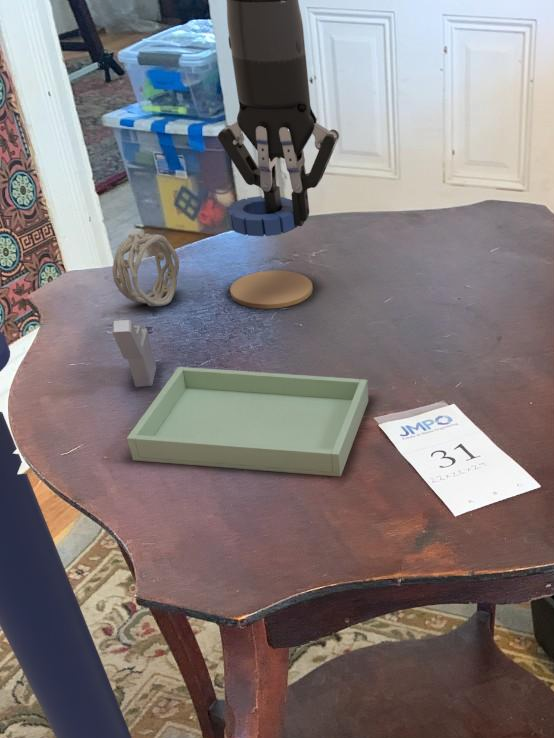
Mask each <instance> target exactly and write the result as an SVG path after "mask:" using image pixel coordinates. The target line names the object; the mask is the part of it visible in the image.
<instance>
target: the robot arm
mask: <svg viewBox="0 0 554 738" xmlns="http://www.w3.org/2000/svg"><path fill="white" fill-rule="evenodd" d="M300 8H301V7H300V3H299V0H226V23H227V30H228V45H229V46H228V47H229V49H230V51H231V58H232V66H233V72H234V79H235V86H236V93H237V100H238V104H239V106H238V107H239V109H238V113H237V116H236V121H235V122H234V123H232V124H230V125H229V124H228V125H226V126H225V127H223V128H222V129H221V130H220V131H219V132H218V134H217V139H218V141H219V143H220V144H221V146H222V147H223V149H224V150H225V152H226V154H227V155H228V156H229V158H230V159H231V161H232V163H233V164H234V166H235V167H236V169H237V171H238V173H239V174H240V176H241V177H242V179H243V181H244V182H245V184H247V185H249V186H253V185H254V186H257V187H259V188H260V189H261V191H262V192H263V197H264V199H265V207H266V214H272V213H275V212H278V211H280V210H281V209H282V204H281V197H282V196H281V188H280V186H278V184H277V181H278V175H277V174H278V173H277V162H278V158H280V159H283V160H284V162H285V166H286V170H287V172H288V176H289V180H290V185H291V189H292V192H291V195H290V196H291V200H292V204H293V213H294V222H295V226H297V227H302V226H303V225H304V224H305V222H306V221H307V220H308V218H309V215H310V205H309V204H310V203H309V194H308V193H309V192H308V189H311V188H312V189H313V188H314V189H315V188H316V187H317V186H318V184H319V183H320V182H321V180H322V178H323V176H324V174H325V172H326V169H327V167H328V165H329V162H330V160H331V158H332V155H333V153H334V150H335V148H336V146H337V143H338V141H339V139H340V134H339V132H338V130H336V129H334V128H333V129H330V130H329V129H327V128H326V127H324V126H323V125H322V124H320V123H318V122H317V118H316V115H315V113H314V111H313V109H312V107H311V95H310V86H309V76H308V75H309V74H308V65H307V64H308V63H307V53H306V44H305V43H306V42H305V32H304V24H303V18H302V11H301V9H300ZM244 135H245V136H244ZM311 136H313V137H314V146H315V149H316V150H318V151H317V154H316V157H315V159H314V162H313V164H312V166H311V169H310V172H308V173H307V171H306V166H305V165H306V163H305V162H306V159H305V153H304V149H305V147H306V146H307V144H308V142H309V140H310V139H311ZM245 137H246V139H248V141H249V142H250V143H251V145H252V146H253V147H254V149H255V150H256V151H257V163H256V161H255V160H254V158H253V157H252V155H251V153H250V151H249V150H248V148H247V147H246V145H245V144H244V143H245Z"/></svg>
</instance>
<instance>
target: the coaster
mask: <svg viewBox="0 0 554 738" xmlns="http://www.w3.org/2000/svg"><path fill="white" fill-rule="evenodd" d="M313 290H314V288H313V282H312V281H311V279H309V277H307V276H306V275H304V274H301V273H298V272H294V271H288V270H264V271H257V272H253V273H249V274H246V275H244V276H241V277H239V278H238V279H236V280H234V282H233V283H232V284H231V285H230V289H229V291H230V296H231V298H232V300H233V301H234V302H236V303H237V304H239V305H242V306H244V307H248V308H253V309H261V310H270V309H271V310H273V309H283V308H286V307H292V306H295V305H297V304H300V303H302V302H304V301H306V300H307V299H308V298H309V297H311V295H312V294H313Z"/></svg>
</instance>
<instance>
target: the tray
mask: <svg viewBox="0 0 554 738" xmlns="http://www.w3.org/2000/svg"><path fill="white" fill-rule="evenodd" d="M368 386H369V385H368V379H363V378H362V379H360V378H347V377H334V376H321V375H320V376H319V375H304V374H291V373H276V372H275V373H274V372H261V371H247V370H234V369H233V370H232V369H219V368H218V369H217V368H202V367H189V366H178V367H177V368H176V369H175V371H174V372H173V374H172V375H171V376H170V378H169V379H168V380H167V382H166V383H165V384H164V386H163V387H162V389H161V390H160V391H159V393H158V394H157V396H156V397H155V398H154V400H153V401H152V403H151V404H150V405H149V406H148V408H147V409H146V411H145V412H144V413H143V415H142V416H141V418H140V419H139V421H138V422H137V423H136V425H135V426H134V427H133V429H132V430H131V432H130V433H129V434H128V435H127V437H126V442H127V445H128V447H129V451H130V455H131V458H132V461H134V462H135V461H137V462H148V463H149V462H151V463H161V464H162V463H163V464H175V465H187V466H199V467H200V466H201V467H203V466H204V467H211V468H214V467H215V468H226V469H239V470H249V471H250V470H251V471H264V472H265V471H266V472H277V473H291V474H301V475H303V474H304V475H315V476H327V477H328V476H330V477H342V474H343V471H344V469H345V467H346V463H347V462H348V461H347V460H348V459H349V455H350V452H351V450H352V447H353V444H354V441H355V439H356V436H357V433H358V431H359V428H360V425H361V423H362V419H363V418H364V414H365V412H366V409H367V406H368V404H369V387H368Z"/></svg>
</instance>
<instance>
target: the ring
mask: <svg viewBox="0 0 554 738" xmlns="http://www.w3.org/2000/svg"><path fill="white" fill-rule="evenodd" d="M281 204H282V209H281V210H280V211H278V212H275V213H272V214H266V207H265V199H264V196H262V195H259V196H251V197H246V198H242V199H239V200H235V201H233V202H232V203H230V205H228V207H227V208H226V215H227V220H228V225H229V227H230V228H231V231H234V233H237V234H241V235H244V236H248V237H264V236H265V237H272V236H279V235H282V234H286V233H289V232H291V231H293V230H295V229H297V228H298V226H295V222H294V213H293V204H292V198H291V199H290V198H288V197H283V196H281Z"/></svg>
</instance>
